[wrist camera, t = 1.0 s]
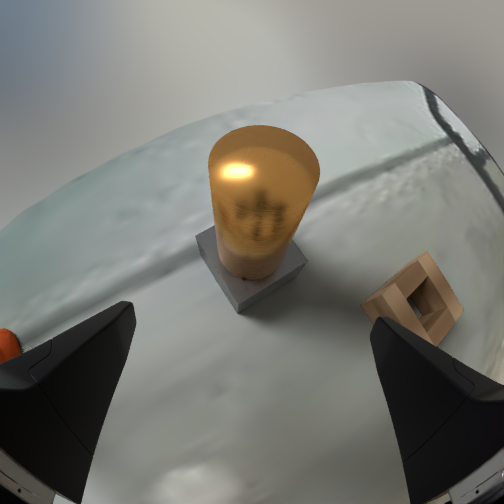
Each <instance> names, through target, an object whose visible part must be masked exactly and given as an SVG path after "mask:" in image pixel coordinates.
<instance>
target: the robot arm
mask: <svg viewBox="0 0 504 504" xmlns="http://www.w3.org/2000/svg"><path fill="white" fill-rule="evenodd" d="M135 328H136V317H135V311H134V306H133V303H132V302H128V301H120V302H119V303H117V304H115V305H113V306H111V307H109V308H107V309H105V310H104V311H102V312H100V313H98V314H96V315H94V316H92V317H90V318H89V319H87V320H85V321H83V322H81V323H79V324H78V325H76V326H74V327H72V328H70V329H68V330H66V331H65V332H63V333H61V334H59V335H57V336H56V337H54V338H52V339H50V340H48V341H46V342H45V343H43V344H41V345H39V346H37V347H35V348H33V349H31V350H29V351H27V352H25V353H23V354H20V355H18V356H16V357H14V358H12V359H9V360H7V361H5V362H3V363H0V504H53V501H54V498H55V494H57V495H59V496H61V497H63V498H65V499H67V500H69V501H71V502H73V503H75V504H81V502H82V497H83V493H84V489H85V485H86V481H87V477H88V474H89V470H90V466H91V463H92V459H93V455H94V452H95V448H96V445H97V442H98V439H99V435H100V432H101V429H102V426H103V423H104V420H105V417H106V414H107V411H108V408H109V406H110V403H111V400H112V397H113V394H114V392H115V389H116V386H117V384H118V381H119V378H120V376H121V373H122V370H123V368H124V365H125V363H126V360H127V356H128V353H129V349H130V345H131V342H132V338H133V335H134V331H135ZM370 341H371V345H372V350H373V354H374V359H375V364H376V368H377V372H378V375H379V379H380V382H381V385H382V388H383V391H384V395H385V398H386V401H387V405H388V408H389V412H390V415H391V419H392V422H393V426H394V430H395V434H396V438H397V442H398V446H399V450H400V454H401V458H402V463H403V468H404V473H405V477H406V482H407V487H408V493H409V498H410V504H426V503H428V502H431V501H433V500H435V499H437V498H439V497H441V496H443V495H445V494H447V493H448V494H449V497H450V501H448V502H446V503H445V504H504V385H502V384H499V383H497V382H495V381H494V380H492V379H490V378H488V377H486V376H484V375H482V374H481V373H479V372H477V371H475V370H473V369H472V368H470V367H468V366H466V365H465V364H463V363H462V362H460V361H458V360H457V359H455V358H454V357H453V358H452V356H450V355H449V354H447V353H446V352H444V351H442V350H441V349H439V348H438V347H436V346H434V345H433V344H431V343H430V342H428V341H426V340H425V339H423V338H422V337H420V336H418V335H417V334H415V333H414V332H412V331H410V330H409V329H407V328H406V327H404V326H402V325H401V324H399V323H397V322H396V321H394V320H393V319H391V318H389V317H387V316H379V317H377V318H376V320H375V323H374V326H373V328H372V331H371V334H370Z"/></svg>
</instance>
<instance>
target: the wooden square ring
mask: <svg viewBox="0 0 504 504" xmlns="http://www.w3.org/2000/svg"><path fill="white" fill-rule="evenodd" d="M409 295H410V296H411V298H412V299H413V301H414V303H415V304H416V306H417V307H418V309H419V311H420V312H421V314H422V315H423V316H422V317H421V318H420V319H418V318H417V316H416V314H415V313H414V311H413V310H412V308H411V306H410V305H409V303H408V302H407V300H406V298H407V297H408V296H409ZM361 306H362V308H363V309H364V311H365V312H366V314H367V315H368V317H369V318H370V320H371V321H372V323H373V324H374V323H375V320H376V318H377V317H379V316H387V317H389V318H391V319H393V320H394V321H396V322H397V323H399V324H401V325H402V326H404V327H406V328H407V329H409V330H410V331H412V332H414V333H415V334H417V335H418V336H420V337H422V338H423V339H425V340H426V341H428V342H430V343H431V344H433V345H434V346H436V347H437V346H438V344H439V343H440V342H441V341H442V339H443V338H444V337H445V335H446V334H447V333H448V331H449V330H450V329H451V327H452V326H453V325H454V323H455V322H456V320H457V319H458V318H459V316H460V315H461V313H462V312H463V308H462V306H461V304H460V303H459V301H458V299H457V297H456V296H455V294H454V292H453V290H452V289H451V287H450V285H449V284H448V282H447V280H446V279H445V277H444V276H443V274H442V272H441V271H440V269H439V268H438V266H437V265H436V263H435V262H434V260H433V259H432V257H431V256H430V254H429V253H428V251H426V252H424V253H423V254H421V255H420V256H418V257H417V258H415V259H414V260H412V261H411V262H409V263H408V264H406V265H405V266H404V267H403V268H402V269H401V270H400V271H398V272H397V273H396V274H395V275H394V276H393V277H392V278H391V279H390V280H389V281H388V282H386V283H385V284H384V285H383V286H382V287H381V288H380V289H379V290H377V291H376V292H375V293H374V294H373V295H372V296H371V297H369V298H368V299H367V300H366V301H365V302H363V303H362V304H361Z"/></svg>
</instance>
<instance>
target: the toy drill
mask: <svg viewBox="0 0 504 504" xmlns="http://www.w3.org/2000/svg"><path fill="white" fill-rule="evenodd" d="M20 354H21V351H20V347H19V344H18V341H17V339H16V337H15V335H14V334H13V333H12V332H11V331H10V330H8V329H0V363H3V362H5V361H7V360H9V359H12V358H14V357H16V356H18V355H20Z"/></svg>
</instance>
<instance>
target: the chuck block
mask: <svg viewBox="0 0 504 504" xmlns="http://www.w3.org/2000/svg"><path fill="white" fill-rule="evenodd" d="M195 237H196V240H197V243H198V247H199V250H200V254H201V256H202V258H203V260H204V261H205V263H206V264H207V266H208V268H209V269H210V271H211V273H212V274H213V276H214V277H215V279H216V281H217V282H218V284H219V285H220V287H221V289H222V290H223V292H224V293H225V295H226V297H227V298H228V300H229V301H230V303H231V304H232V306H233V307H234V309H235V311H236V312H237V314H238V313H239V312H241V311H243V310H244V309H246V308H248V307H249V306H251V305H252V304H254V303H256V302H257V301H259V300H260V299H262V298H263V297H265V296H267V295H268V294H270V293H271V292H273V291H275V290H276V289H278V288H279V287H281V286H282V285H284V284H285V283H287V282H288V281H290V280H292V279H293V278H295V277H296V276H297V275H298V273H299V272H300V271H301V269H302V268H303V266H304V265H305V264H306V262H307V261H308V260H307V259H306V258H305V256H304V255H303V254H302V252H301V251H300V249H299V248H298V247H297V245H296V244H295V243H294V241H293V240H292V241H291V243H290V245H289V247H288V249H287V251H286V253H285V255H284V258H283V260H282V262H281V264H280V265H279V267H278V268H277V269H276V270H275V271H274V272H273V273H272V274H270V275H269V276H267V277H265V278H262V279H258V280H245V281H243V279H242V278H239V277H237V276H235V275H233V274H231V273H230V272H229V271H228V270H227V269H226V268H225V267H224V265H223V264H222V262H221V260H220V257H219V253H218V246H217V238H216V230H215V225H214V226H213V227H211V228H209V229H207V230H205V231H203V232H202V233H200V234H198V235H196V236H195Z"/></svg>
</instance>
